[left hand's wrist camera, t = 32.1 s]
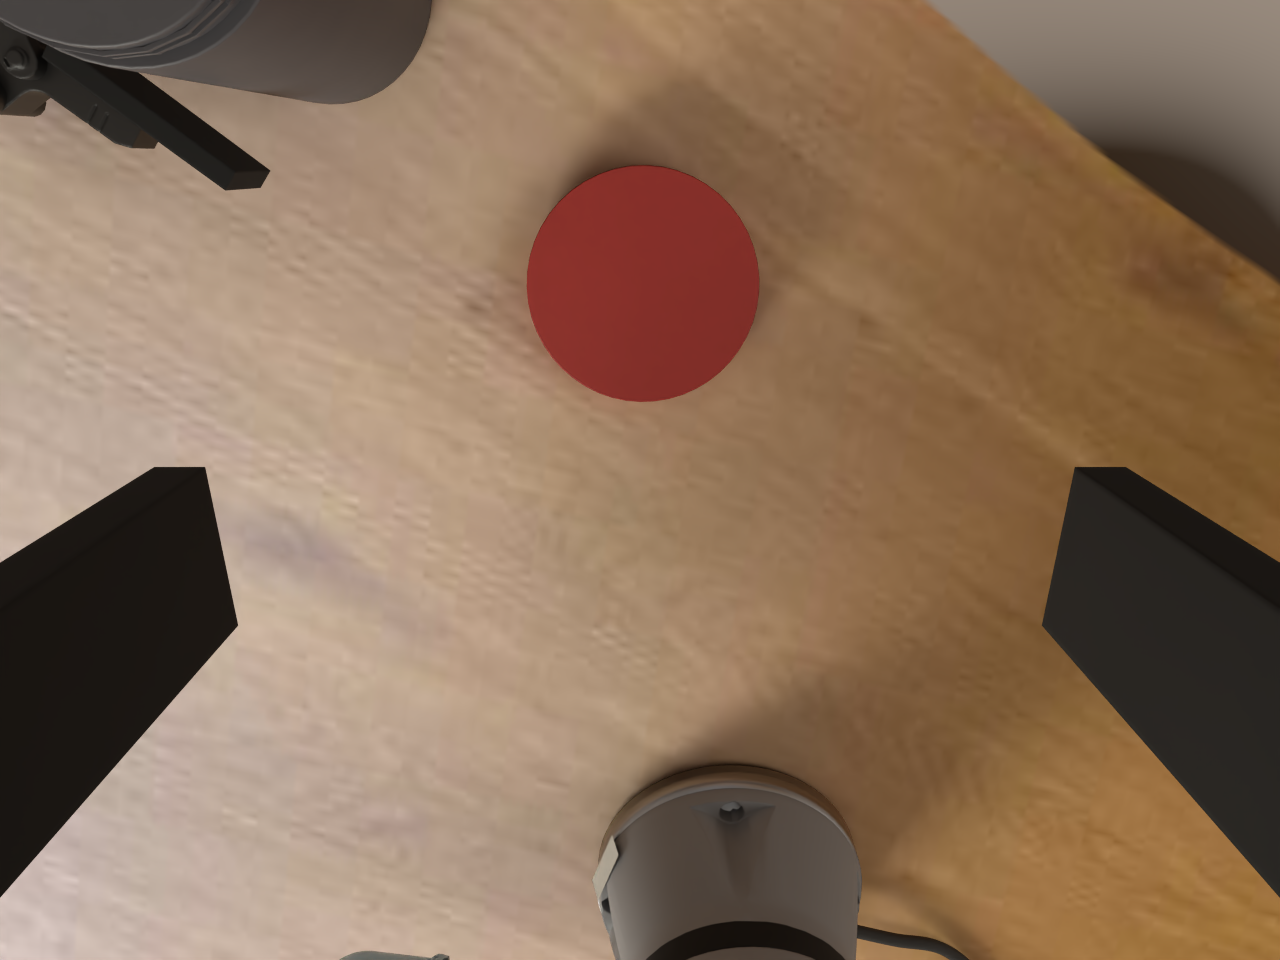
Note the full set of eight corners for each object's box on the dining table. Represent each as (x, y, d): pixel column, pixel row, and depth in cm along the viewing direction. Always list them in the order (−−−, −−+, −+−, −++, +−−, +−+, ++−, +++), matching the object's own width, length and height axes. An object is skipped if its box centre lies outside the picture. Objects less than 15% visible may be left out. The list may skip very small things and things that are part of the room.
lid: (582, 124, 33) (579, 122, 32) (793, 224, 35) (800, 228, 33) (500, 340, 37) (493, 348, 35) (695, 424, 38) (698, 435, 37)
